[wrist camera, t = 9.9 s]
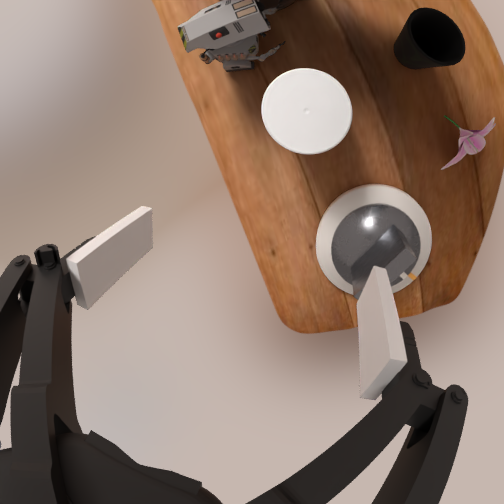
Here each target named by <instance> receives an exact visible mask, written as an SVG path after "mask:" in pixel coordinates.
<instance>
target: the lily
mask: <svg viewBox="0 0 504 504" xmlns="http://www.w3.org/2000/svg"><path fill="white" fill-rule="evenodd" d="M444 117H445V118H447V119H448V120H450V121H451V122H452V123H454V124H455V125H456V126H457V127H458V128H459V130H460V138H459V150H458V154H457V155H456V156H455V157H454V158H453V159H452V160H451V161H450V162H449V163H448V164H446V165H445V166H444V167H443V168H441V170H442V169H445V168H447V167H449V166H451V165H453V164H456V163H457V162H458V161H460V160H461V159H462V158H463V157H464V156H465V155H466V154H467V153H468V154H471V155H472V154H476V153H479V152H480V151H481V150H482V149H483V148H484V147H485V144H486V141H485V139H484V138H483V137H484V136H485V135H487V134H488V133H489V132H490V131H491V130H492V129H493V128H494V126H495V125H496V124H494V125H493V123H494V120H495V117H494V118H493V119H492V120H491V121H490V122H489V123H488V125H487V126H486V127H485V128H484V129H483V130H463V129H461V128H460V127H459V126H458V125H457V124H456V123H455V122H454V121H452V120H451V119H450V118H448V117H447V116H445V115H444ZM492 125H493V126H492Z"/></svg>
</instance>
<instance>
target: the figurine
mask: <svg viewBox="0 0 504 504" xmlns="http://www.w3.org/2000/svg"><path fill="white" fill-rule="evenodd" d="M279 5H283V4H278V5H277V7H275V8H271V9H267V10H264V9H265V6H264V4H263V3H262V2H259V0H223V1H220V2H218V3H216V4H213V5H211V6H209V7H207V8H204V9H202V10H200V11H199V12H198V13H197V14H196V15H194V16H193V17H192V18H190V19H189V20H188V21H187V22H185V23H183V24H181V25H179V26H178V30H179V33H180V36H181V39H182V41H183V44H184V47H185V50H186V51H187V52H190V51H192V50H194V49H196V48H204V49H206V51H205V52H204V53H202V54H200V56H199V58H200V59H201V60H202V61H204V62H205V63H206V64H209V63H211V62H212V61H213V60H214V59H216V60H218V61H219V62H222V63H223V68H224V69H225V70H226V71H227V72H231V71H240V70H251V69H254V62H252V61H249V60H256V59H258V60H259V61H264V60H265V59H266V58H267V57H268V56H269V55H270V56H271V55H273V54H274V53H275V52H276V50H277V49H279V48H280V46H281V45H283V44H284V43H285V41H284V42H283V43H282V44H279V45H278V46H277V47H275V48H272V49H270V50H269V51H268V53H266V54H265V55H264V54H262V55H260V56H256V54H257V53H258V52H259V49H258V47H259V38H258V34H259V33H260V35H261V36H262V35H263V37H265V36H266V34H265V33H262V32H265V31H268V30H270V29H271V28H270V22H269V21H268V20H267V18H266V16H265V15H266V14H267V15H270V14H274V13H275V12H276V10H278V9H280V8H284V7H285V6H284V5H283V7H279Z"/></svg>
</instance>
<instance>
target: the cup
mask: <svg viewBox="0 0 504 504" xmlns="http://www.w3.org/2000/svg"><path fill="white" fill-rule="evenodd" d="M394 53H395V56H396V58H397V59H398V61H399V62H400V63H401V64H402V65H404V66H405V67H407V68H410V69H422V68H430V67H440V66H450V65H455V64H457V63H458V62H460V61H461V59H462V58H463V56H464V54H465V41H464V38H463V35H462V33H461V31H460V29H459V28H458V26H457V25H456V24H455V23H454V21H453V20H452V19H450V18H449V17H448V16H447V15H445V14H444V13H442V12H440V11H438V10H435V9H432V8H419V9H417V10H414V11H413V12H412V13H411V14H410V16H409V18H408V20H407V22H406V23H405V25H404V27H403V29H402V31H401V33H400V35H399V36H398V38H397V40H396V42H395V44H394Z"/></svg>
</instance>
